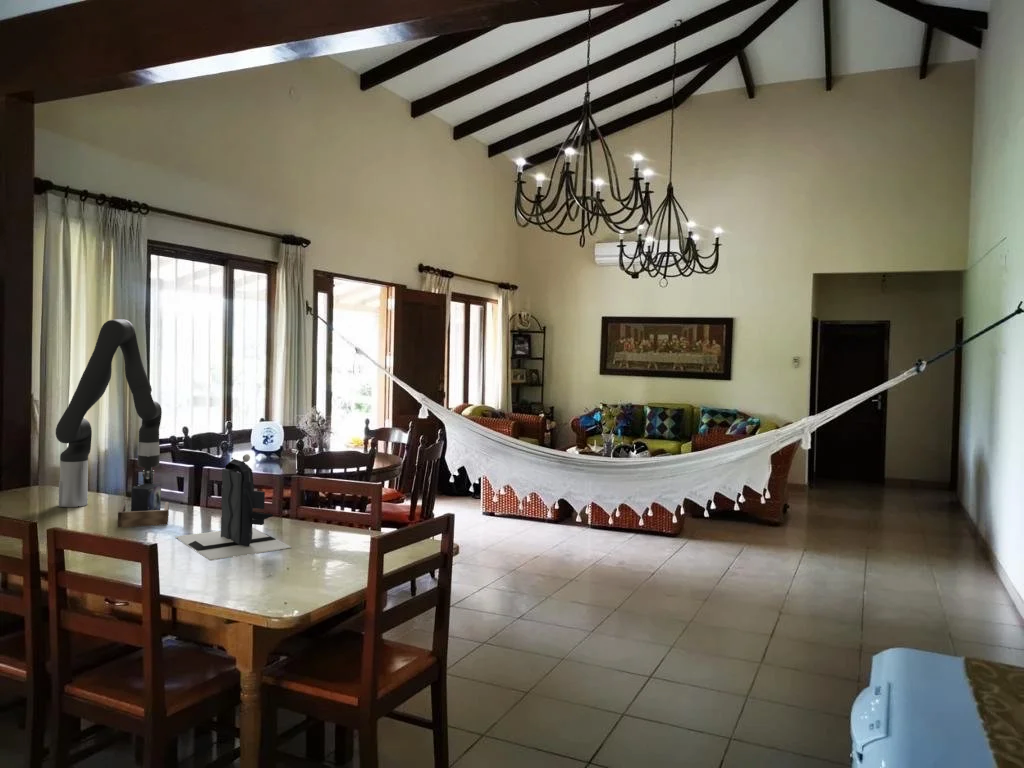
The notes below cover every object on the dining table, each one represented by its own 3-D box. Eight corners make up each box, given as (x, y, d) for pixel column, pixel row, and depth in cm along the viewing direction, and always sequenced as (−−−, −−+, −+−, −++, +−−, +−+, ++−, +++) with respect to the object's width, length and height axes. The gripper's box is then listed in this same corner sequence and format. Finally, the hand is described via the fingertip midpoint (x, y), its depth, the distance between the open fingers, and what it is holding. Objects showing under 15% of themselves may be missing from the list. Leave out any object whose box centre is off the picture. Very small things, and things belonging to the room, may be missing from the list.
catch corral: (117, 527, 258) (118, 512, 258) (121, 517, 272) (121, 504, 272) (167, 524, 264) (167, 510, 264) (168, 515, 278) (168, 502, 278)
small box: (147, 517, 274) (148, 488, 274) (129, 516, 274) (130, 487, 274) (161, 511, 285) (162, 483, 284) (144, 510, 285) (144, 482, 284)
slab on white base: (175, 538, 247) (176, 451, 246) (251, 528, 264) (253, 447, 263) (210, 561, 223) (211, 464, 222) (291, 548, 240) (293, 459, 239)
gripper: (138, 451, 293) (137, 495, 293) (136, 456, 281) (136, 502, 281) (160, 451, 296) (159, 495, 297) (159, 455, 284) (158, 501, 284)
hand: (147, 498), depth 289 cm, fingers closed
